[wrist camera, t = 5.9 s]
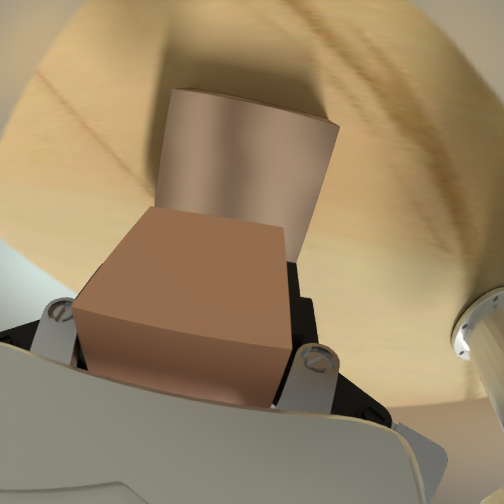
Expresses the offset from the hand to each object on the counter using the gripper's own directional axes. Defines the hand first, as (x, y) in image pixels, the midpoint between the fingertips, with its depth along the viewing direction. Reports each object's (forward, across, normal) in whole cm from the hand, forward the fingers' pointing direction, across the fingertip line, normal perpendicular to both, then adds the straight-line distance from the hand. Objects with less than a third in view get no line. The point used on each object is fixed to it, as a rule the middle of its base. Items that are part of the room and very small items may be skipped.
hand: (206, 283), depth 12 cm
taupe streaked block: (+18, 0, 0) cm, 18 cm away
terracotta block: (+1, 0, 0) cm, 1 cm away
